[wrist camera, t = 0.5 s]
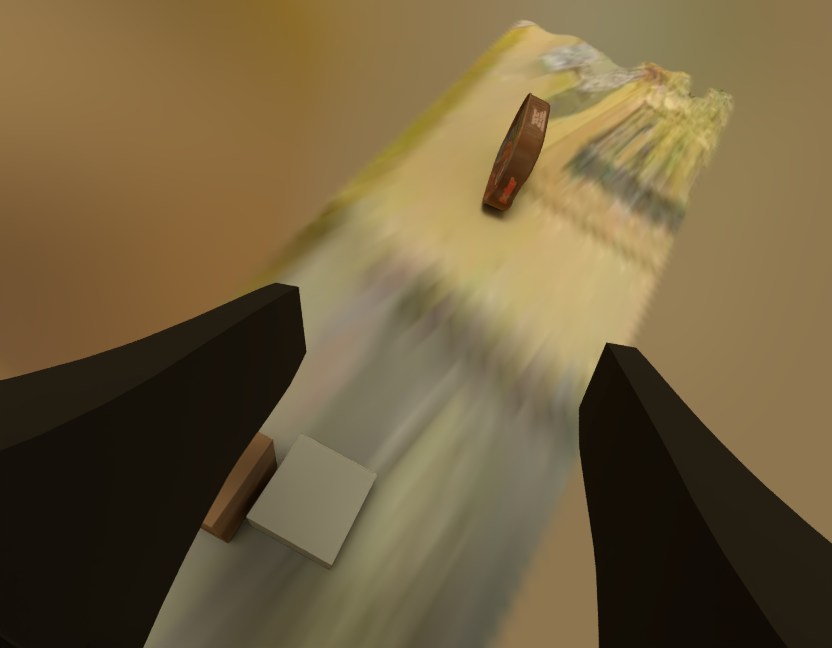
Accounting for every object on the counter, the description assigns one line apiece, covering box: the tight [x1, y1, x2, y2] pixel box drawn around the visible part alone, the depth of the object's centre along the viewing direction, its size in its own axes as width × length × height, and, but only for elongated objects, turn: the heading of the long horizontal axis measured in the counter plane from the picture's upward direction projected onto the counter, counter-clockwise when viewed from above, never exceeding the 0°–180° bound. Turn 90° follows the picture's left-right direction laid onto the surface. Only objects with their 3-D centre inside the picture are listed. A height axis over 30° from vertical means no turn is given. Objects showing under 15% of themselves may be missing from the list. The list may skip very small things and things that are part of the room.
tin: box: [483, 93, 550, 211], centre depth 44 cm, size 15×3×8 cm, turn 164°
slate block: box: [247, 433, 377, 569], centre depth 24 cm, size 5×5×3 cm
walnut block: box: [200, 432, 277, 543], centre depth 22 cm, size 4×4×6 cm
